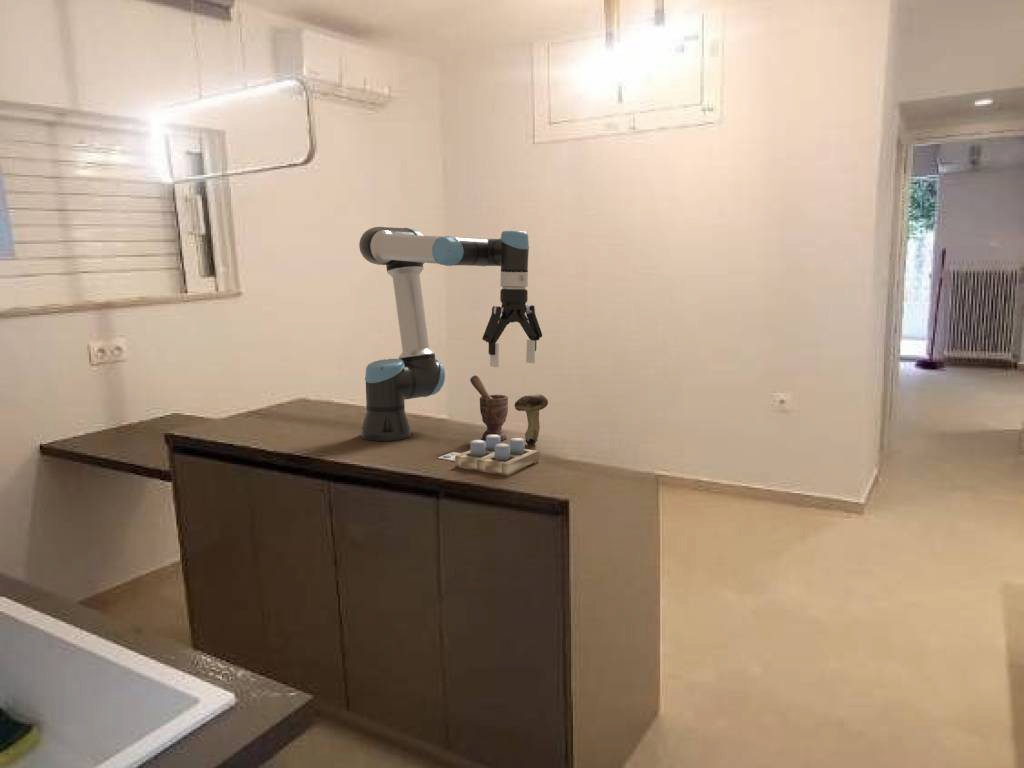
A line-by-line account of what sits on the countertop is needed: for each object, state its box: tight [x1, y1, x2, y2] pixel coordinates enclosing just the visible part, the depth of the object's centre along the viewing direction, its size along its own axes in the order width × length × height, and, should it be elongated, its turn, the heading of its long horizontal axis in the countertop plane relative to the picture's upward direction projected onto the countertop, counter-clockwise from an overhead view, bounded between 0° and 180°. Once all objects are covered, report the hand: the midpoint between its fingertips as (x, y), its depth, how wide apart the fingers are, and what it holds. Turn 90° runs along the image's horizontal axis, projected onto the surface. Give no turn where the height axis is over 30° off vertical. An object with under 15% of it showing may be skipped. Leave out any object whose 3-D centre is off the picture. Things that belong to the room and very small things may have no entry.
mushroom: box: [514, 393, 549, 446], centre depth 210 cm, size 9×9×15 cm
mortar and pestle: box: [469, 374, 509, 441], centre depth 216 cm, size 12×9×20 cm
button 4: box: [509, 437, 526, 455], centre depth 190 cm, size 4×4×4 cm
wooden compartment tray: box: [454, 448, 540, 477], centre depth 189 cm, size 16×16×3 cm
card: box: [437, 451, 463, 462], centre depth 196 cm, size 7×7×1 cm
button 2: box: [485, 435, 502, 451], centre depth 194 cm, size 4×4×4 cm
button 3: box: [494, 443, 510, 461], centre depth 184 cm, size 4×4×4 cm
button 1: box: [469, 439, 486, 457], centre depth 188 cm, size 4×4×4 cm
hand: (512, 364), depth 200 cm, fingers open, 13 cm apart
